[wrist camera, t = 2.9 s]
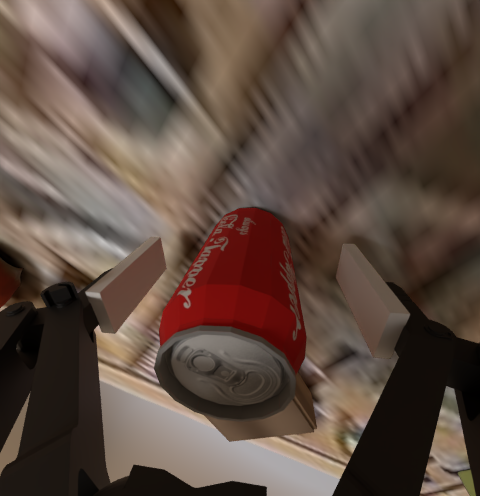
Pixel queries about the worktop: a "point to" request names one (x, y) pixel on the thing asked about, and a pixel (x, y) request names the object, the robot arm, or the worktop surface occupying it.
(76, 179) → the worktop surface
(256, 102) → the worktop surface
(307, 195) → the worktop surface
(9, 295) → the fruit
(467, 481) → the protein box
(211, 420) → the walnut plinth
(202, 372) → the soda can
